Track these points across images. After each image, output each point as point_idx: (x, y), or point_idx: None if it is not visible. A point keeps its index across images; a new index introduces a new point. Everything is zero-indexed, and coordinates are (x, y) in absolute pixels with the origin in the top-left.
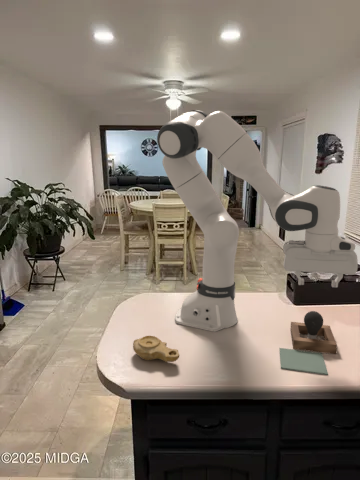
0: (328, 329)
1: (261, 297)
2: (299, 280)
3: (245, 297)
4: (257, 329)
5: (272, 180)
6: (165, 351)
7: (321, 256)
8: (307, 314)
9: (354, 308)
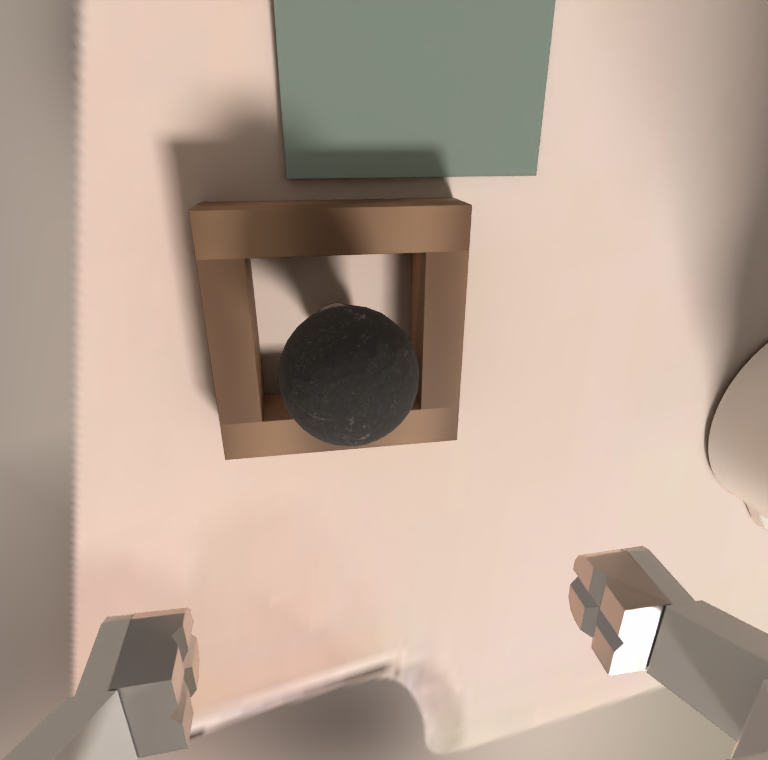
0: (235, 410)
1: (545, 685)
2: (685, 593)
3: None
4: (619, 366)
5: None
6: None
7: None
8: (406, 386)
9: None
